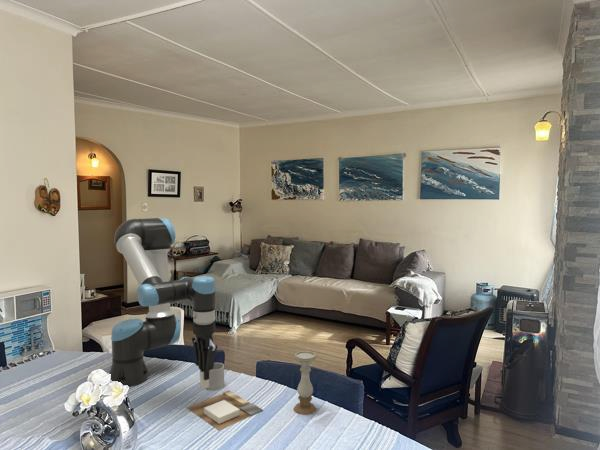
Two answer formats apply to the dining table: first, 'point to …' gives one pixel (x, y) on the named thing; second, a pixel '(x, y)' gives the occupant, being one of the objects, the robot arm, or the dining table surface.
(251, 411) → the turner
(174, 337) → the robot arm
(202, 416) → the board
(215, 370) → the cup
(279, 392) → the dining table surface
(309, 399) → the candle holder
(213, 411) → the tile
